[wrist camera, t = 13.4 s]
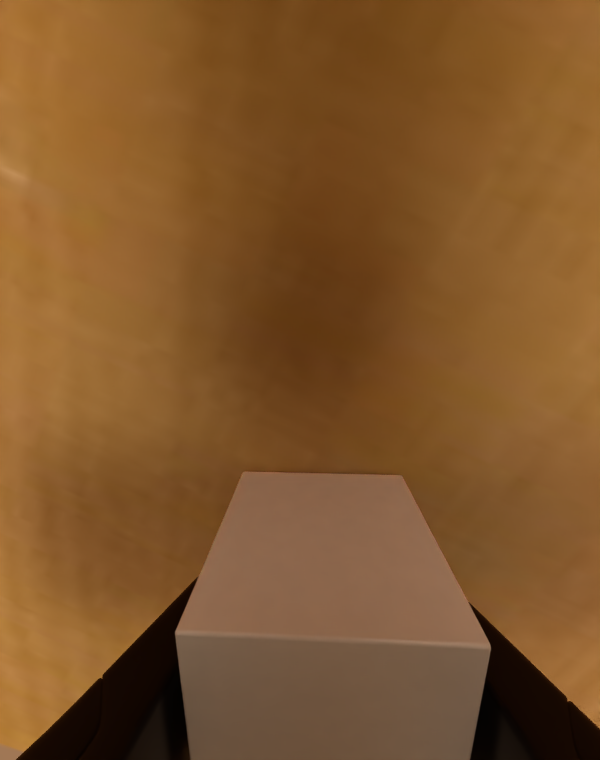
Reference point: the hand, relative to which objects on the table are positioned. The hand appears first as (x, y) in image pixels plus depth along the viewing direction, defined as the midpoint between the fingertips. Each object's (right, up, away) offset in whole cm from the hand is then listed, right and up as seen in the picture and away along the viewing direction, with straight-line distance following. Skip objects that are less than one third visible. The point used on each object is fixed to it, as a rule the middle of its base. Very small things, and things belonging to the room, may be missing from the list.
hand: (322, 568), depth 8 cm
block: (0, 0, +1) cm, 1 cm away
